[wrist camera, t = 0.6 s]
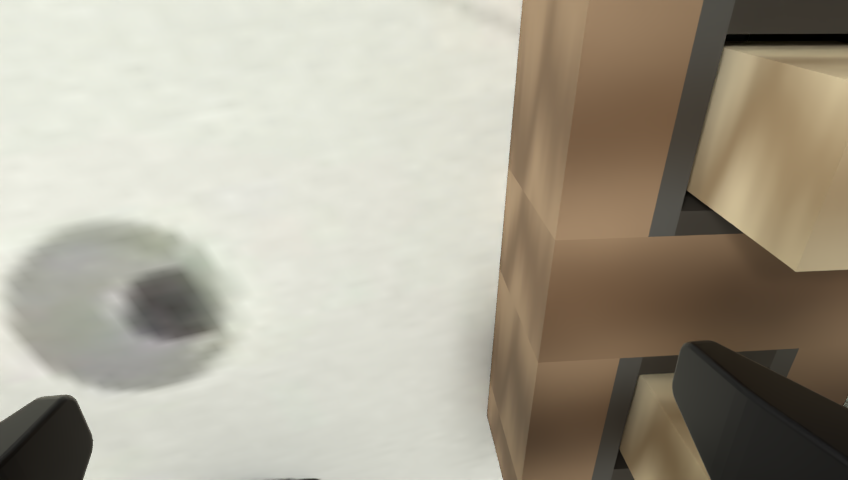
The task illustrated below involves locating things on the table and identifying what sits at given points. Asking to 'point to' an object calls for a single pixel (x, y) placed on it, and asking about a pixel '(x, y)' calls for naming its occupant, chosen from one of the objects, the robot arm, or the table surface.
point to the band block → (634, 230)
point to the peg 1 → (659, 434)
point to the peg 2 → (780, 149)
